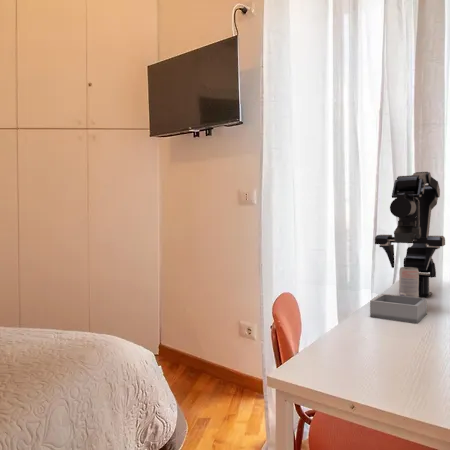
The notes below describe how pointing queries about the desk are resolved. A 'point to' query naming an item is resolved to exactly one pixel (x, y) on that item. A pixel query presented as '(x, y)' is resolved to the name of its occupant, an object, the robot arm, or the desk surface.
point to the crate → (398, 308)
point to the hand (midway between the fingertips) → (408, 268)
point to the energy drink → (409, 282)
